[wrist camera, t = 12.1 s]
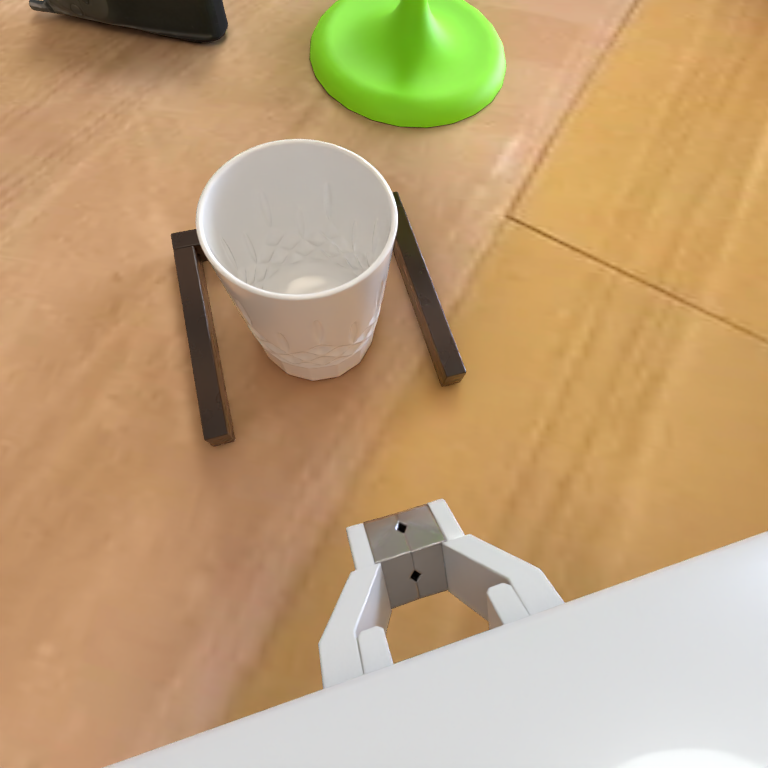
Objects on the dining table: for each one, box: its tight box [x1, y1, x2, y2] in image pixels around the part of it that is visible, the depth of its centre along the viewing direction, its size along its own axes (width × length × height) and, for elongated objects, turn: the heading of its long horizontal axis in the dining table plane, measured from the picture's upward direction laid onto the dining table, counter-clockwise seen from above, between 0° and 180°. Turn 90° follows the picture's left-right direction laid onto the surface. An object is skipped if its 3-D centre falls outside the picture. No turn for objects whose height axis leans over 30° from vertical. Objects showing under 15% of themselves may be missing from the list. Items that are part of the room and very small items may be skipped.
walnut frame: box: [171, 192, 466, 446], centre depth 26 cm, size 13×14×2 cm
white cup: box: [196, 139, 398, 381], centre depth 22 cm, size 8×8×10 cm
